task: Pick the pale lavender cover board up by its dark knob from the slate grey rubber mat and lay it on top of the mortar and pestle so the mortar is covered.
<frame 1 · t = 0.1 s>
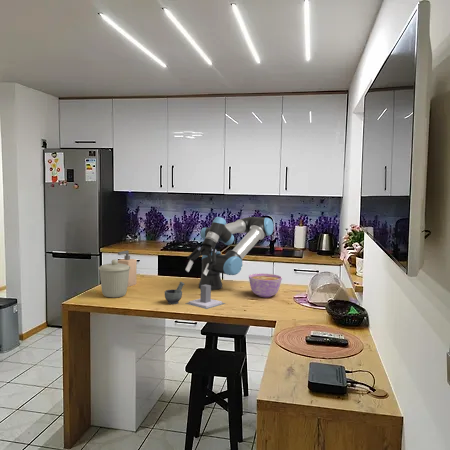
hand: (195, 272, 255), 15 cm above the worktop, tool tilted 35°, fingers open, 13 cm apart
canister: (114, 295, 259), on the worktop
cover board: (205, 303, 245), point 1 cm above the worktop, touching mat
bowl of food: (264, 296, 269), on the worktop
soap dispenser: (124, 285, 286), on the worktop
mortar and pestle: (174, 304, 245), on the worktop
mat: (205, 304, 246), on the worktop
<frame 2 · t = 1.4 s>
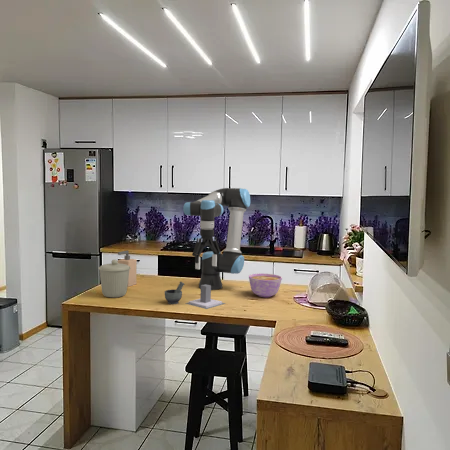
hand: (206, 267, 244), 21 cm above the worktop, tool pointing down, fingers open, 13 cm apart
nothing on the worktop moved.
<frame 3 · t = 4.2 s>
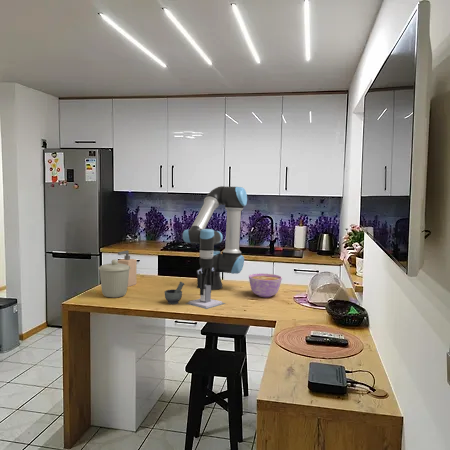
hand: (205, 299, 245), 3 cm above the worktop, tool pointing down, fingers closed on cover board, 4 cm apart
cover board: (205, 303, 246), point 1 cm above the worktop, touching gripper, mat
everything else where it was.
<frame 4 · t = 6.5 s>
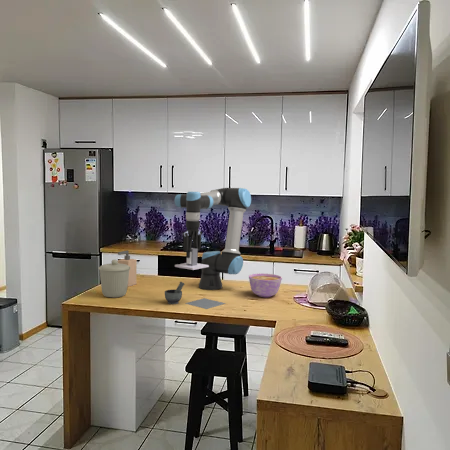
hand: (191, 263, 243), 23 cm above the worktop, tool pointing down, fingers closed on cover board, 4 cm apart
cover board: (191, 266, 243), point 21 cm above the worktop, touching gripper
everything else where it was.
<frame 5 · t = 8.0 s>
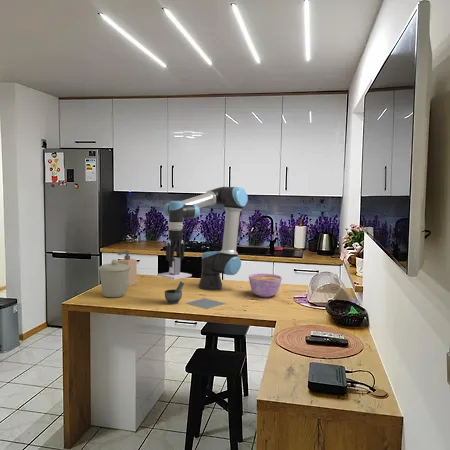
hand: (174, 272, 244), 17 cm above the worktop, tool pointing down, fingers closed on cover board, 4 cm apart
cover board: (174, 276, 244), point 15 cm above the worktop, touching gripper
everything else where it was.
when the fingers open (16 cm above the worktop, at t = 8.9 s): cover board drops 4 cm and tips over, resting on mortar and pestle.
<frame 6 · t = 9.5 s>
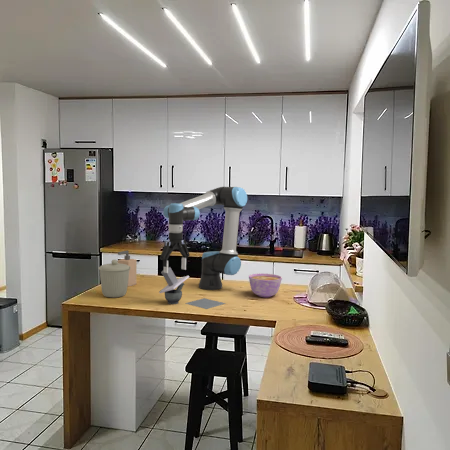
hand: (174, 271, 244), 18 cm above the worktop, tool pointing down, fingers open, 13 cm apart
cover board: (174, 285, 244), point 10 cm above the worktop, tilted 31°, touching mortar and pestle
mortar and pestle: (174, 304, 245), on the worktop, touching cover board
everything else where it was.
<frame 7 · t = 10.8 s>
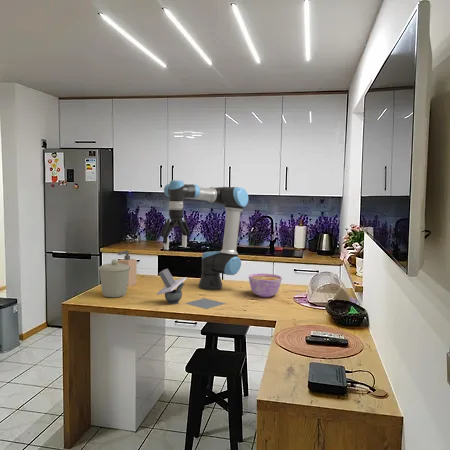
hand: (175, 248, 243), 31 cm above the worktop, tool pointing down, fingers open, 13 cm apart
cover board: (172, 286, 244), point 10 cm above the worktop, tilted 31°
mortar and pestle: (174, 304, 245), on the worktop
everything else where it was.
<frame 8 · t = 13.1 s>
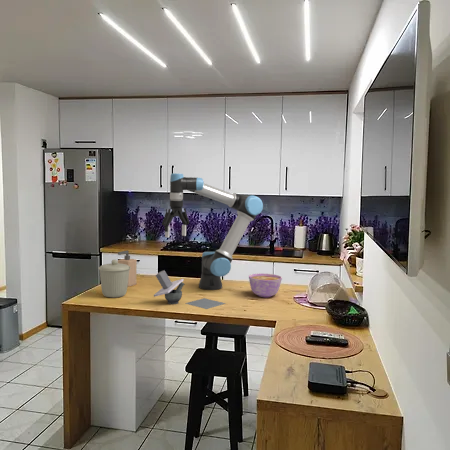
hand: (175, 236, 262), 35 cm above the worktop, tool pointing down, fingers open, 13 cm apart
cover board: (169, 288, 244), point 9 cm above the worktop, tilted 31°, touching mortar and pestle
mortar and pestle: (174, 304, 245), on the worktop, touching cover board
everything else where it was.
at the end: cover board inside the target area on the mortar and pestle (3.0 cm from its centre), point 8.8 cm above the mortar and pestle's base; the gripper is holding nothing; mortar and pestle tilted 0° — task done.
